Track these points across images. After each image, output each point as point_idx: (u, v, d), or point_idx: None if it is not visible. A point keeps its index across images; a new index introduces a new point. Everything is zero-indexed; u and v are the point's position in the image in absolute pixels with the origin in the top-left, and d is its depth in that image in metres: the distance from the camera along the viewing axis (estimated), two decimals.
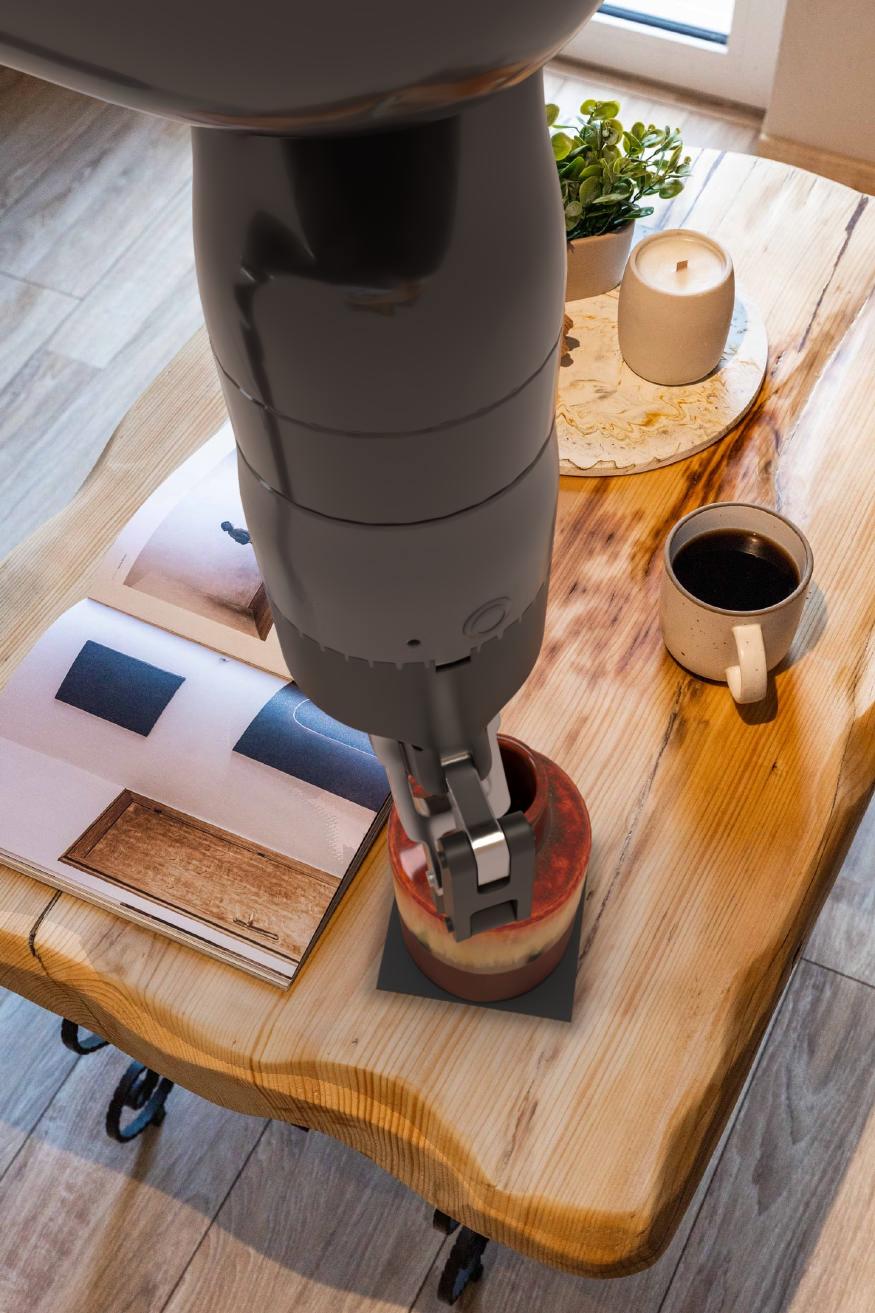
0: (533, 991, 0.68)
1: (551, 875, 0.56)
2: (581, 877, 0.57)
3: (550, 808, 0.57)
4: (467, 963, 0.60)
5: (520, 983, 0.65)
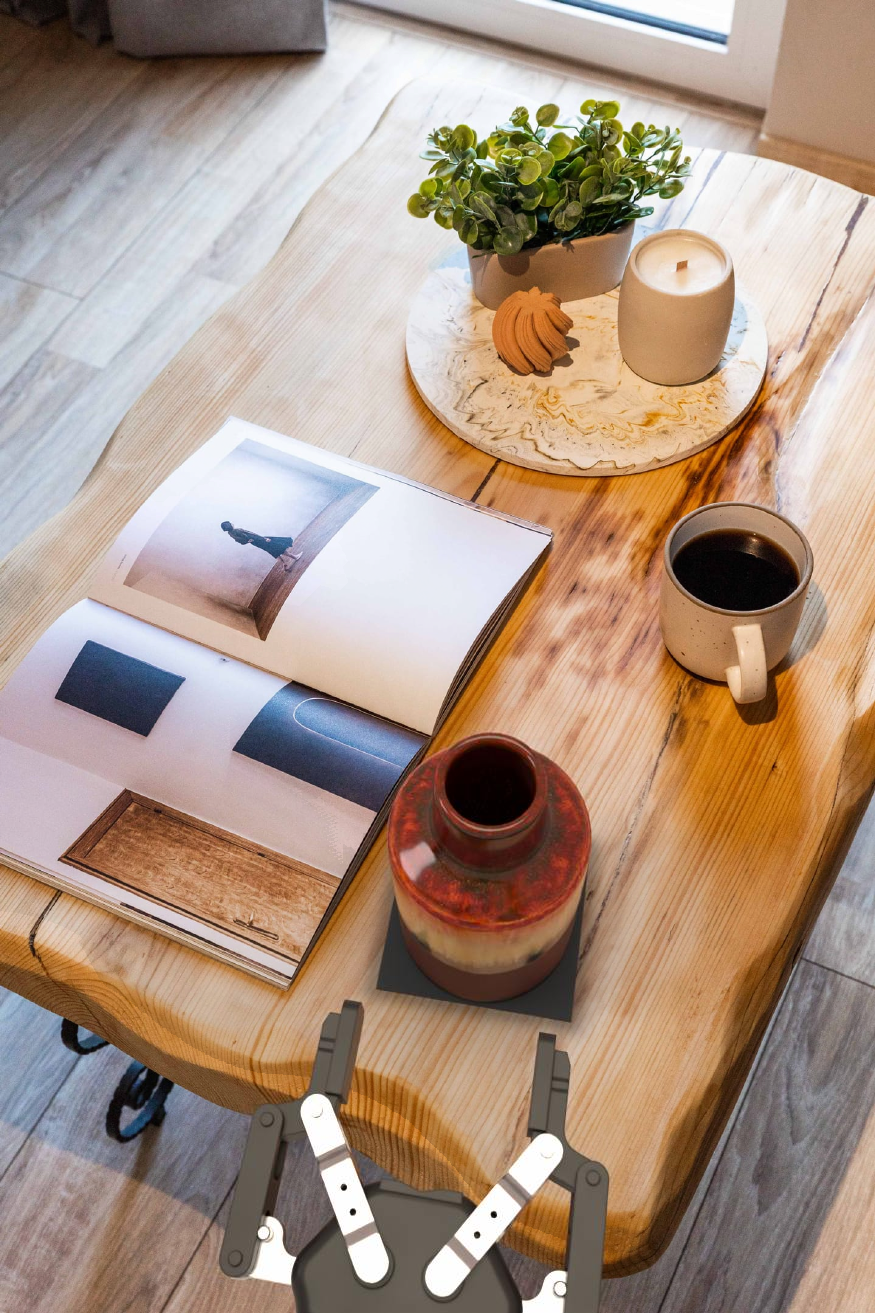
0: (533, 991, 0.68)
1: (551, 874, 0.56)
2: (581, 877, 0.57)
3: (550, 808, 0.57)
4: (467, 963, 0.60)
5: (520, 983, 0.65)
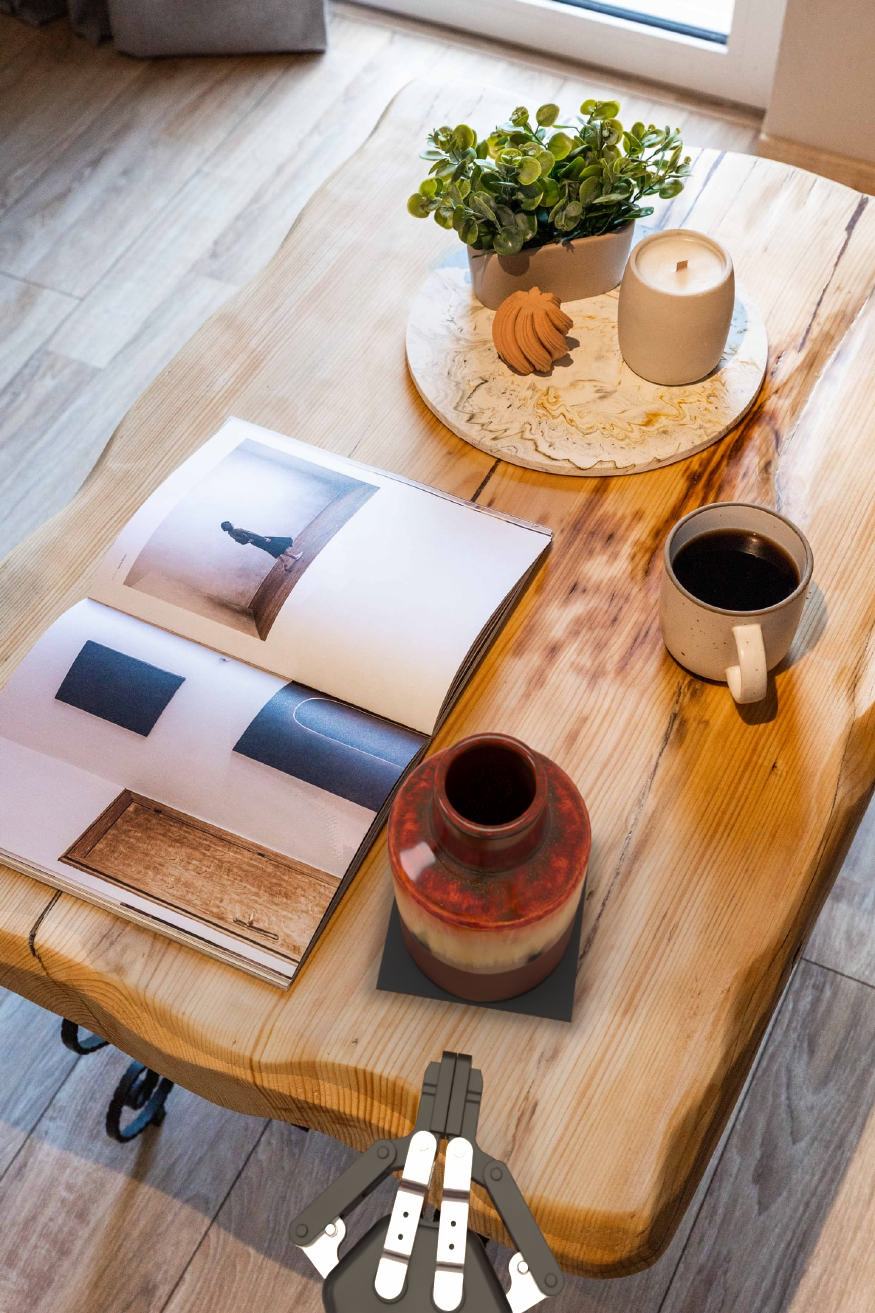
0: (533, 991, 0.68)
1: (551, 874, 0.56)
2: (581, 877, 0.57)
3: (550, 808, 0.57)
4: (467, 963, 0.60)
5: (520, 983, 0.65)
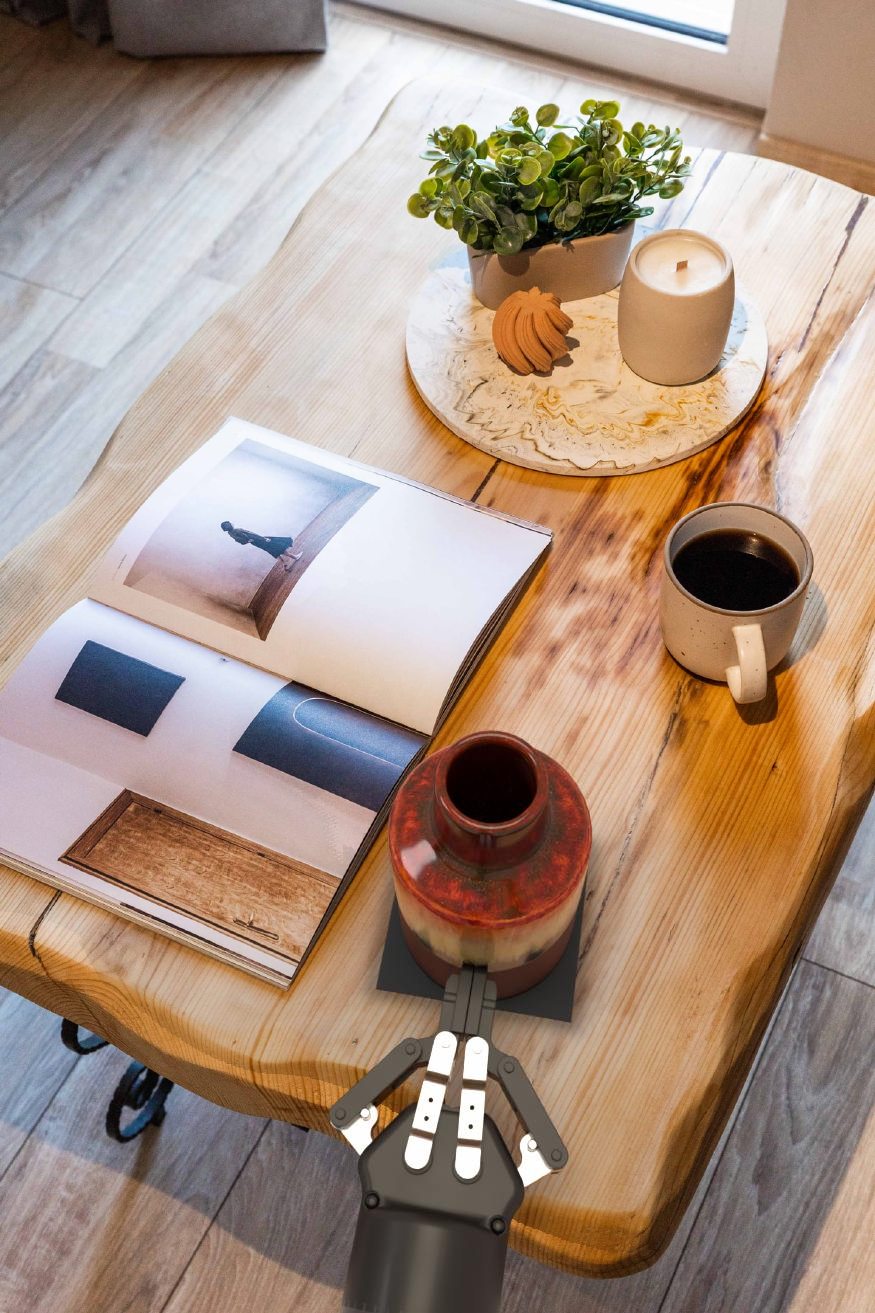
0: (533, 991, 0.68)
1: (552, 872, 0.56)
2: (582, 874, 0.57)
3: (550, 806, 0.57)
4: (468, 961, 0.60)
5: (521, 981, 0.65)
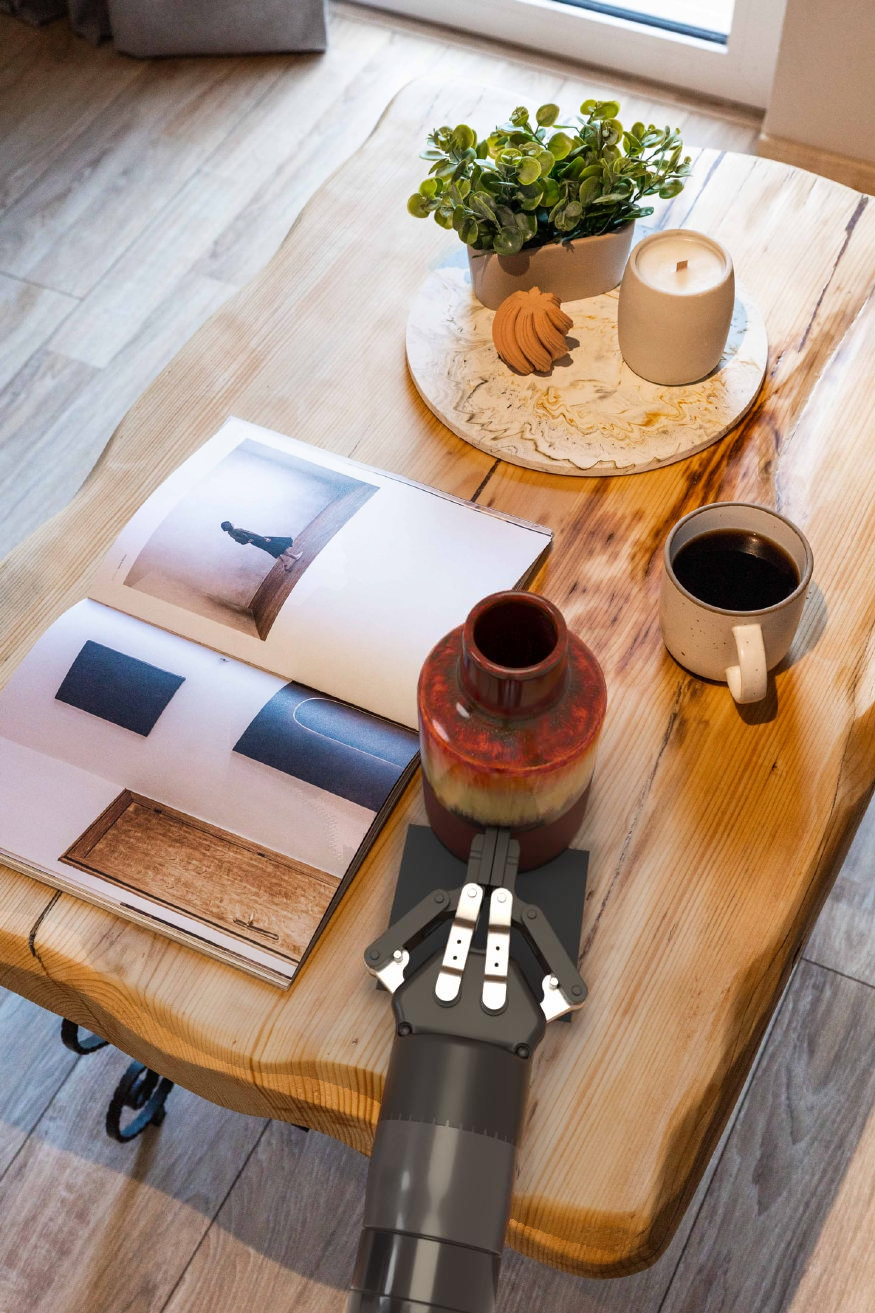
0: None
1: (572, 723, 0.60)
2: (599, 726, 0.61)
3: (568, 665, 0.61)
4: (494, 821, 0.65)
5: (542, 848, 0.69)
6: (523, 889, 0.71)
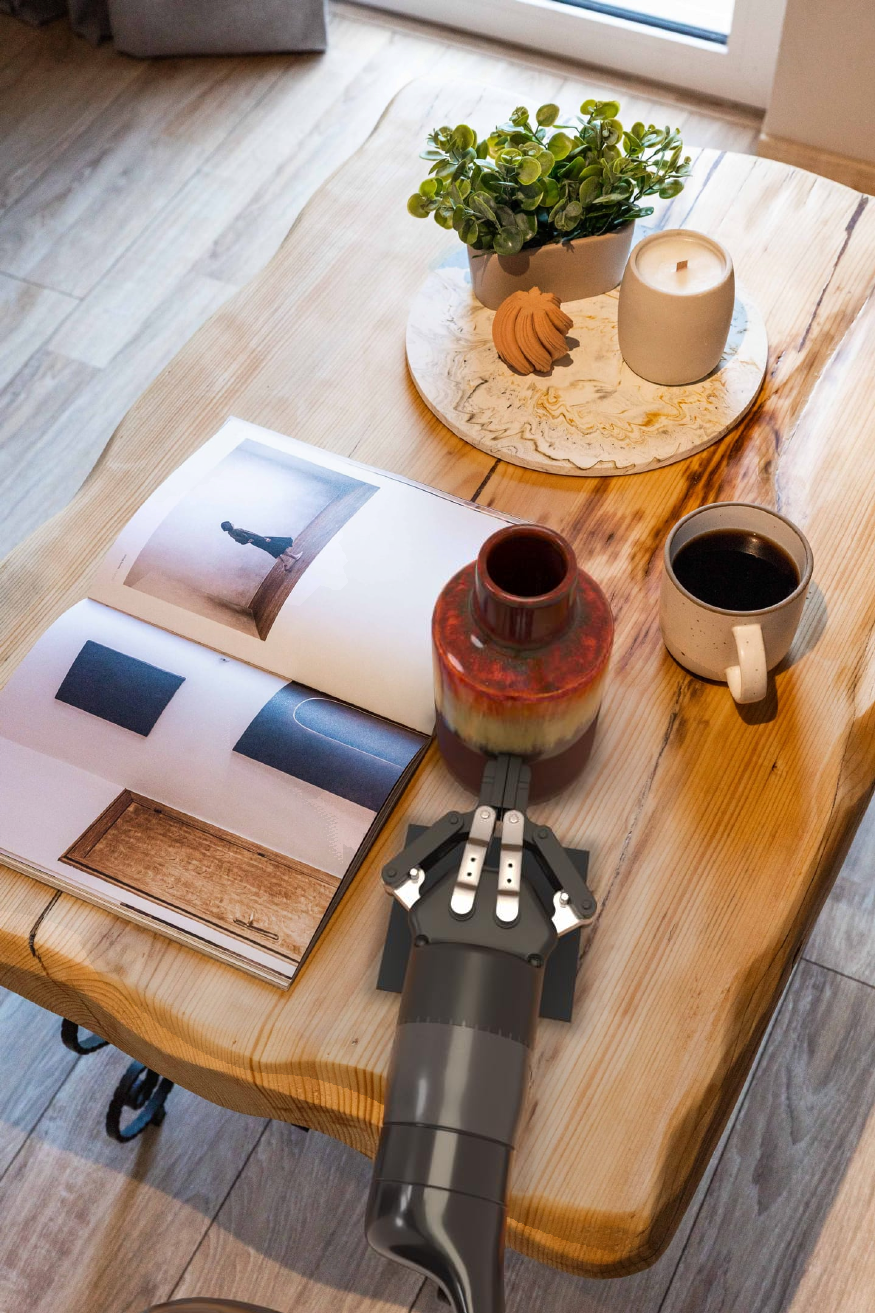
0: None
1: (582, 651, 0.63)
2: (608, 655, 0.64)
3: (576, 596, 0.64)
4: (508, 751, 0.67)
5: (553, 778, 0.71)
6: None
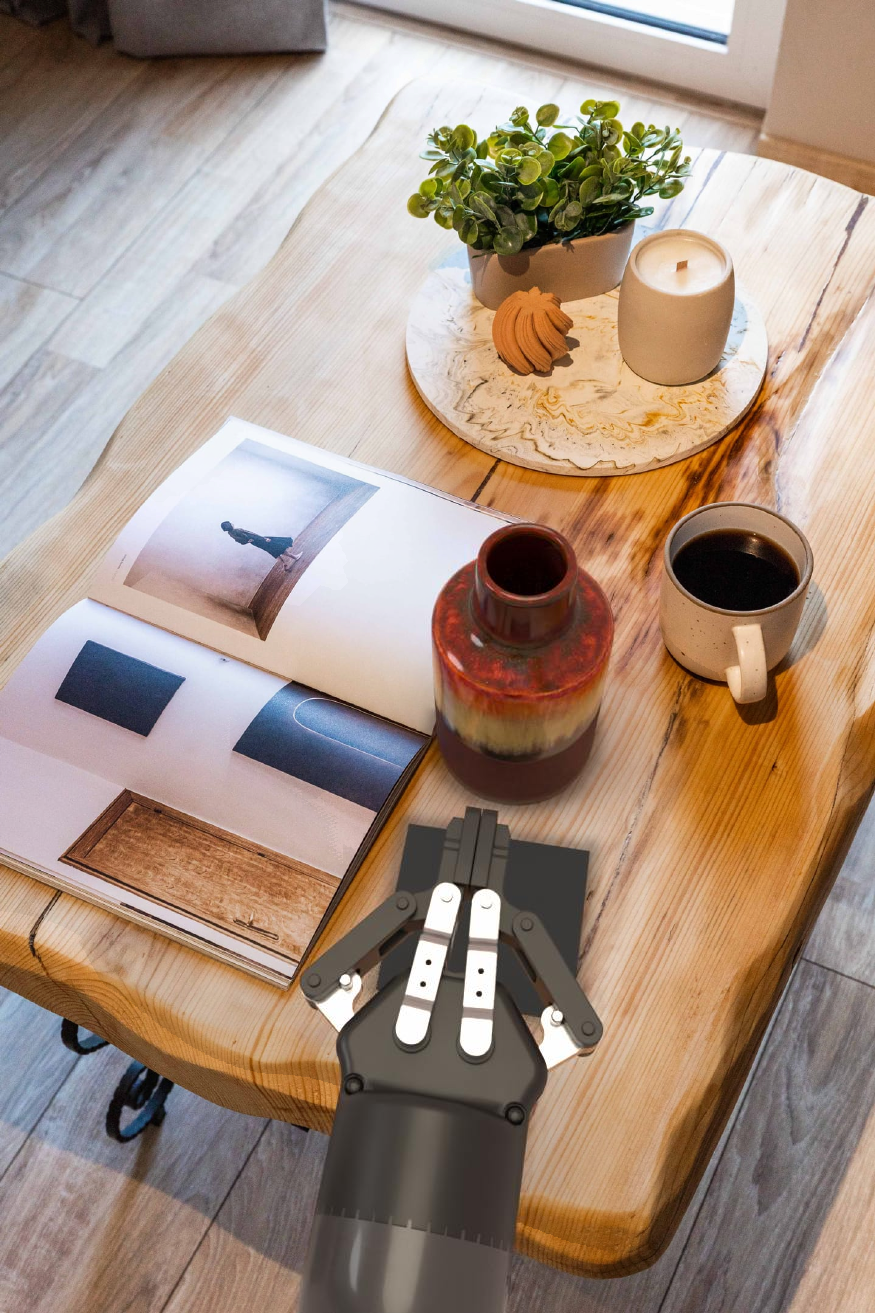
0: (533, 991, 0.68)
1: (582, 650, 0.63)
2: (608, 654, 0.64)
3: (576, 595, 0.64)
4: (508, 750, 0.67)
5: (553, 777, 0.71)
6: (523, 889, 0.71)
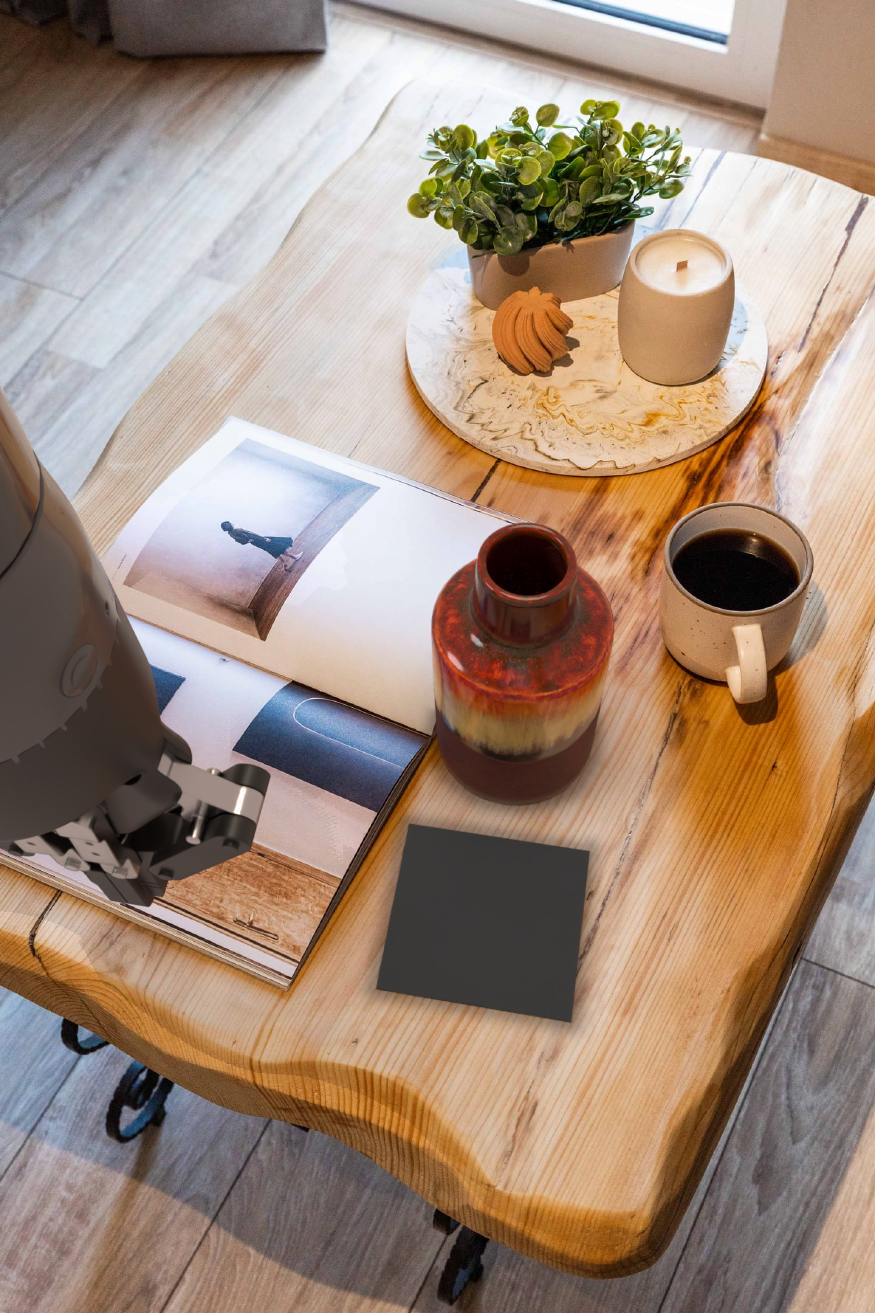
0: (533, 991, 0.68)
1: (582, 650, 0.63)
2: (608, 654, 0.64)
3: (576, 595, 0.64)
4: (508, 750, 0.67)
5: (553, 777, 0.71)
6: (523, 889, 0.71)
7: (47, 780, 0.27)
